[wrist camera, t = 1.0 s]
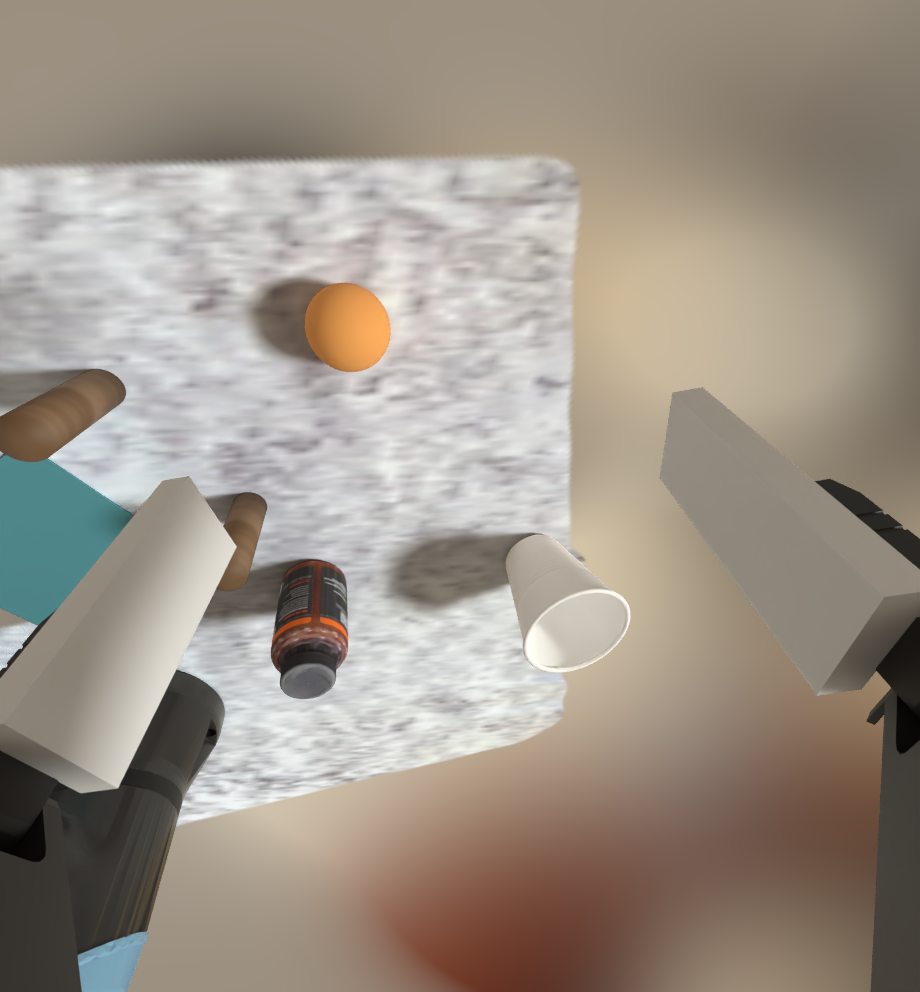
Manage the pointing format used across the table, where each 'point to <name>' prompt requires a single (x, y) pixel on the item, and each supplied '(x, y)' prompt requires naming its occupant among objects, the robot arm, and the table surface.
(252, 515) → the post right
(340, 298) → the ball
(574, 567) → the cup
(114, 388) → the post left
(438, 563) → the table surface
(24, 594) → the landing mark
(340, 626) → the supplement bottle
